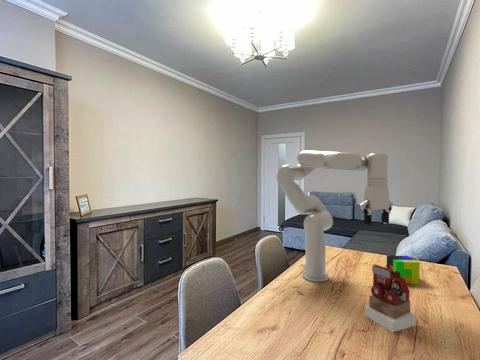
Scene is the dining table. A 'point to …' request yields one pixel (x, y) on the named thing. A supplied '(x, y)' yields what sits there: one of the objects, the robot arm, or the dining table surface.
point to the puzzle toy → (405, 268)
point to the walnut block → (389, 307)
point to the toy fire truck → (389, 285)
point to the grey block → (391, 320)
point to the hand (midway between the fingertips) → (376, 223)
